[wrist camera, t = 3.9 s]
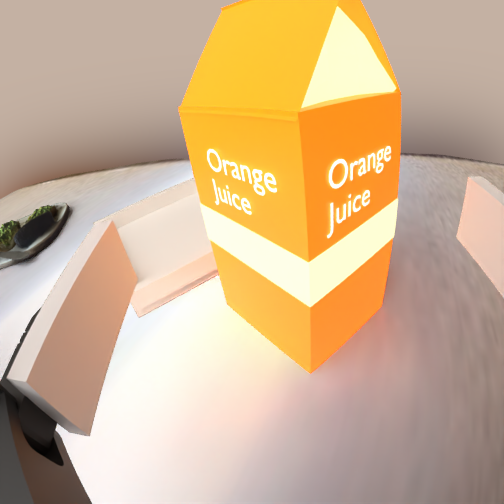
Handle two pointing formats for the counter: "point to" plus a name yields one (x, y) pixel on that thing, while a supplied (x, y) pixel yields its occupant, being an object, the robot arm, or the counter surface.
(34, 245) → the salad plate
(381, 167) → the orange juice
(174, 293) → the tray
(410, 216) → the counter surface
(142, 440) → the counter surface
